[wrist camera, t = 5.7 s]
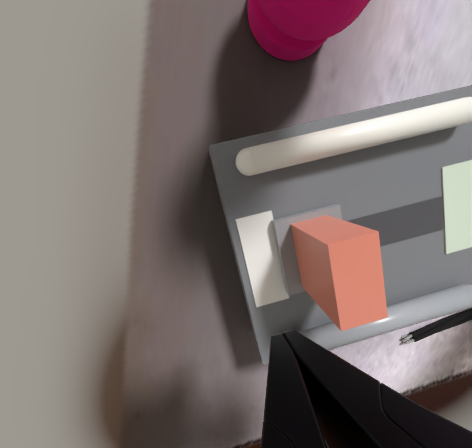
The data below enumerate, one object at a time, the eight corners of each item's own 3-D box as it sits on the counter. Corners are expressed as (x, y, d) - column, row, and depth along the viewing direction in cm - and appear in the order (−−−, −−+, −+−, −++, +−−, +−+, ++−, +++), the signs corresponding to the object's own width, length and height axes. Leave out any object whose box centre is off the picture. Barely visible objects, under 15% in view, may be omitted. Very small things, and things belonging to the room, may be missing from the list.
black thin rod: (400, 341, 24) (408, 347, 23) (398, 332, 24) (406, 339, 23) (507, 298, 25) (519, 303, 24) (506, 290, 25) (518, 294, 24)
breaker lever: (335, 204, 16) (398, 217, 11) (345, 275, 17) (407, 319, 12) (271, 220, 16) (304, 242, 10) (286, 291, 17) (322, 344, 11)
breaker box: (424, 102, 20) (508, 73, 14) (434, 279, 23) (505, 311, 18) (208, 151, 18) (209, 141, 13) (253, 331, 22) (268, 383, 16)
